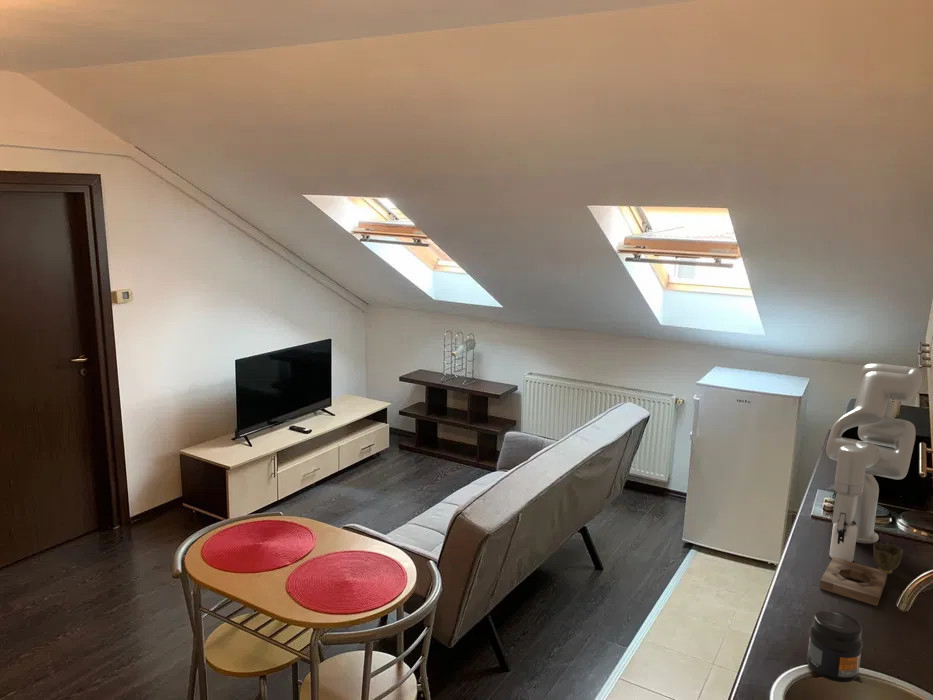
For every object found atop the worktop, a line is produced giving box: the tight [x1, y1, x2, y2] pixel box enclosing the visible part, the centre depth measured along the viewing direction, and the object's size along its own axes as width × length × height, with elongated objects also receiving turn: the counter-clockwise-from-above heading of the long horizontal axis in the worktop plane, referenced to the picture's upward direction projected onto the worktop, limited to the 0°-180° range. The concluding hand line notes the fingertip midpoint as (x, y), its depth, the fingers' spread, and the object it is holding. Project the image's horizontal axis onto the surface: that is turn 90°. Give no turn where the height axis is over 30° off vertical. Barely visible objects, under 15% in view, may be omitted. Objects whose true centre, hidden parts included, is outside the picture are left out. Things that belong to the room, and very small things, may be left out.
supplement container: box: [806, 609, 864, 683], centre depth 151 cm, size 10×10×12 cm
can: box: [829, 521, 857, 562], centre depth 204 cm, size 6×6×12 cm
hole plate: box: [819, 557, 888, 607], centre depth 189 cm, size 18×14×2 cm
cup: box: [872, 541, 904, 576], centre depth 196 cm, size 8×7×8 cm
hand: (842, 542), depth 204 cm, fingers closed on can, 4 cm apart
